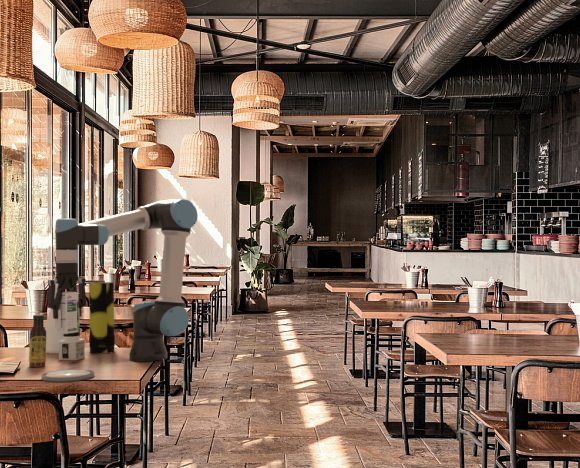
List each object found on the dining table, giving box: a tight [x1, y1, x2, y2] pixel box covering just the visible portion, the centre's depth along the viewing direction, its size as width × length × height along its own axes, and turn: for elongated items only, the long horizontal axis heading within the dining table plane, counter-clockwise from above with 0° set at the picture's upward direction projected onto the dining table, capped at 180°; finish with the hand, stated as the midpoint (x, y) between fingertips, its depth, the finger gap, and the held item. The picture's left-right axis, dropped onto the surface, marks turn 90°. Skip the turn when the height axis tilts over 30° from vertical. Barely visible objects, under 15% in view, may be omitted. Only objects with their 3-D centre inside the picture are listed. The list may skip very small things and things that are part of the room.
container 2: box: [88, 281, 116, 355], centre depth 331 cm, size 11×11×30 cm
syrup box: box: [55, 290, 80, 334], centre depth 270 cm, size 6×6×14 cm
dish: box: [41, 369, 95, 383], centre depth 270 cm, size 18×18×1 cm
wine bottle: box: [44, 282, 64, 355], centre depth 332 cm, size 10×10×30 cm
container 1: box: [58, 327, 86, 361], centre depth 313 cm, size 8×8×13 cm
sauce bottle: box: [28, 314, 47, 368], centre depth 295 cm, size 6×6×20 cm
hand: (67, 327), depth 270 cm, fingers closed on syrup box, 6 cm apart
